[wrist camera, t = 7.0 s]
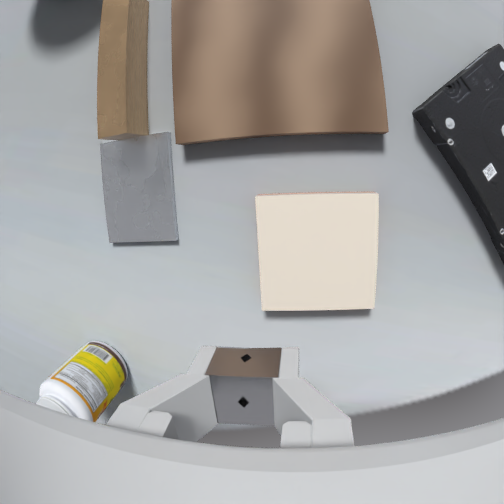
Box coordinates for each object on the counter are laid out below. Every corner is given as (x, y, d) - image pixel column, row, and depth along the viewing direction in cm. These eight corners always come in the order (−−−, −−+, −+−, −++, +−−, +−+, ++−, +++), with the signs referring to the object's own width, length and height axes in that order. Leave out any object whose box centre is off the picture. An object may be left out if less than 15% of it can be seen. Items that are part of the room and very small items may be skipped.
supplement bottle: (101, 386, 30) (49, 446, 20) (76, 342, 29) (14, 396, 19) (140, 382, 29) (88, 452, 19) (113, 334, 28) (48, 396, 18)
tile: (261, 310, 23) (374, 308, 22) (255, 196, 21) (378, 193, 20) (265, 299, 25) (369, 297, 24) (259, 193, 23) (372, 190, 22)
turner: (106, 16, 20) (85, 4, 17) (169, -3, 19) (152, -21, 16) (113, 241, 25) (89, 251, 22) (179, 238, 24) (160, 250, 21)
